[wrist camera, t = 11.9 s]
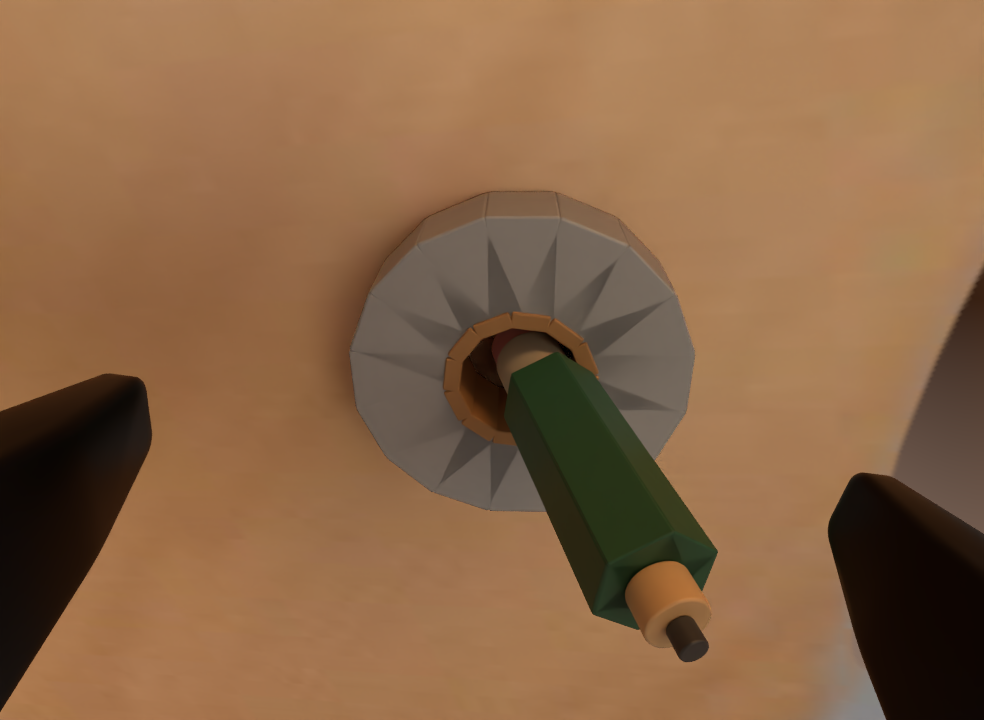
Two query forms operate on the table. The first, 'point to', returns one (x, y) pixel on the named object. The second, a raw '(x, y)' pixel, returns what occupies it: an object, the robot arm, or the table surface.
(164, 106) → the table surface
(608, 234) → the tape
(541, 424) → the pencil
